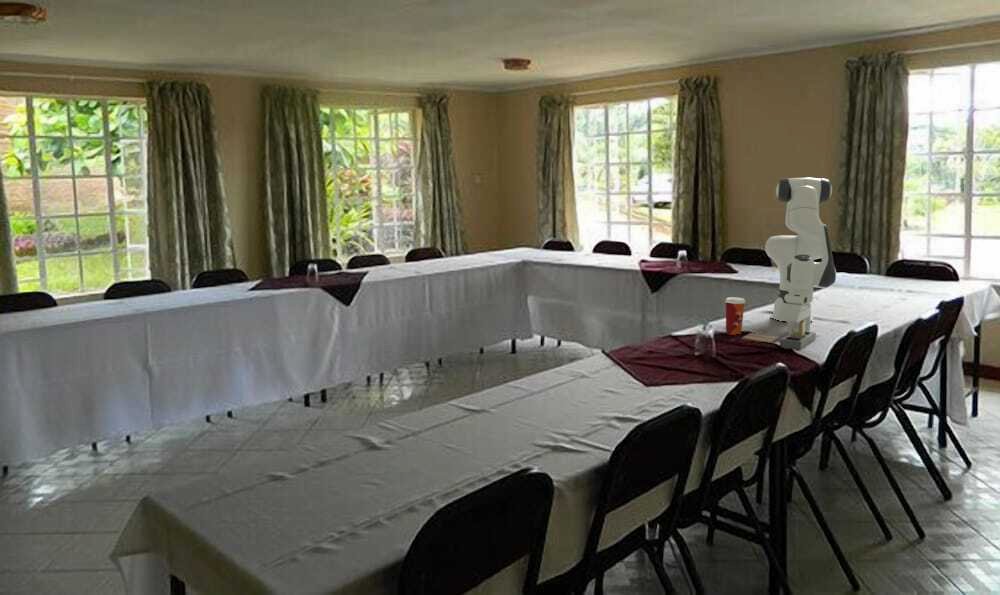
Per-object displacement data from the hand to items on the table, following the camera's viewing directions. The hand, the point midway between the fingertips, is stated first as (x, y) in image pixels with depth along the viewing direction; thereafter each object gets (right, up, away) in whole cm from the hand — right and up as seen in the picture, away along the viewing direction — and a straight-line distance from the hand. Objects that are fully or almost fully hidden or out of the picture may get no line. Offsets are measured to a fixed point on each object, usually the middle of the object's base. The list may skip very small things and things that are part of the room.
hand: (798, 330), depth 308 cm
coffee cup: (-20, -2, +19) cm, 28 cm away
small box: (+7, -2, +19) cm, 20 cm away
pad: (-13, -4, +7) cm, 15 cm away
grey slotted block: (0, -5, +1) cm, 5 cm away
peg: (0, -5, +1) cm, 5 cm away
